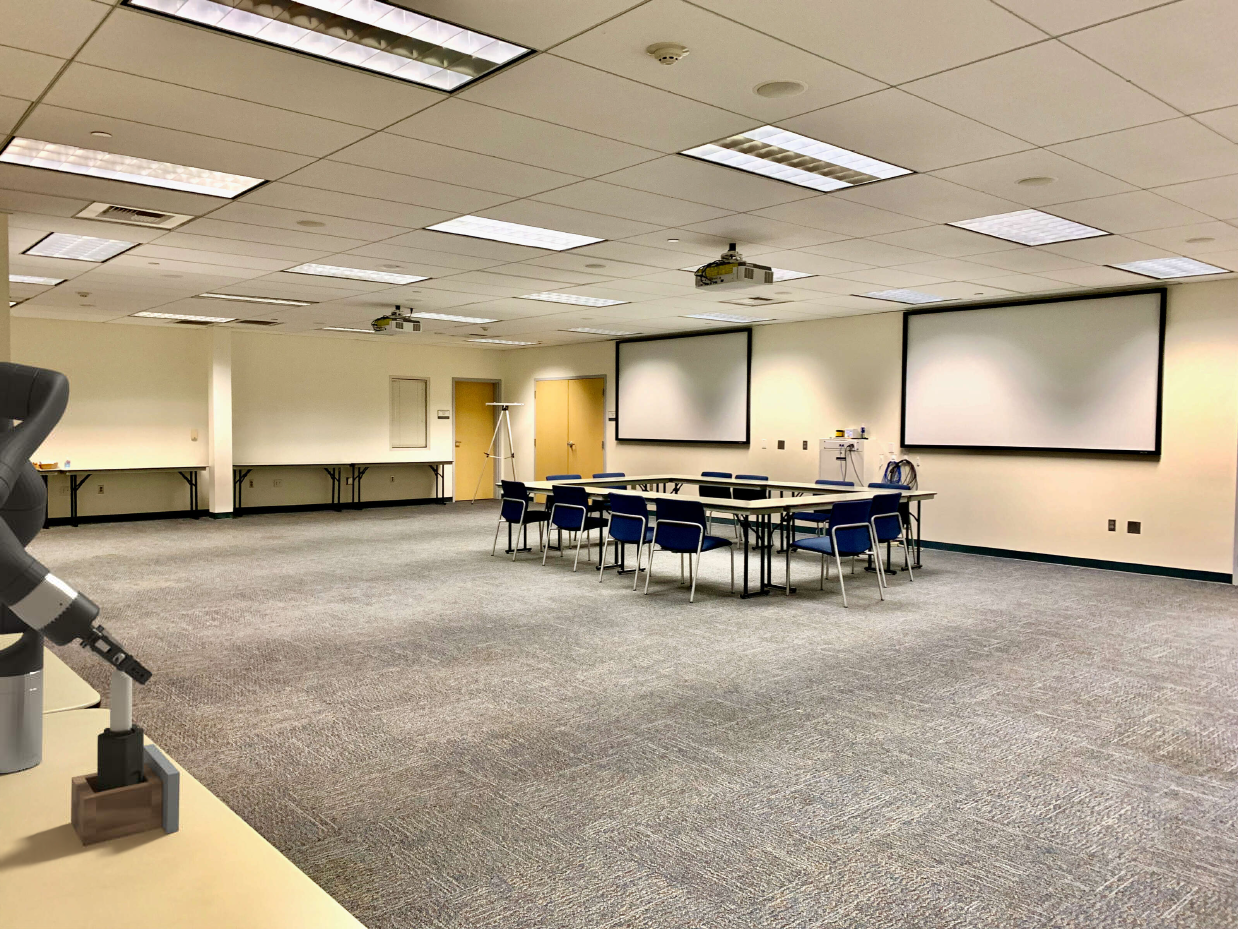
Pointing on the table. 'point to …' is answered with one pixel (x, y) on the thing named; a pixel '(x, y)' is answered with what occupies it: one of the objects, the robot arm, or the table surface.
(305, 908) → the table surface
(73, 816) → the socket block
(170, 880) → the table surface
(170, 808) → the backstop wall
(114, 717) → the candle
